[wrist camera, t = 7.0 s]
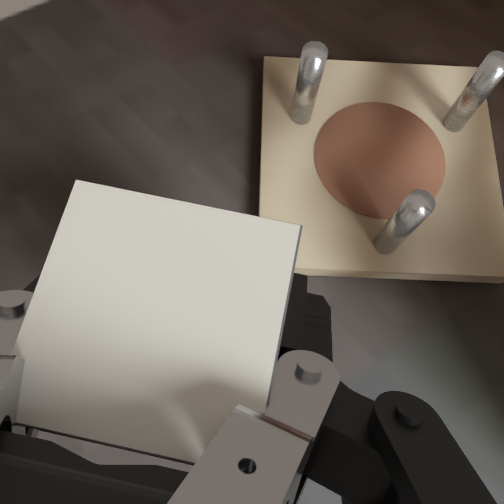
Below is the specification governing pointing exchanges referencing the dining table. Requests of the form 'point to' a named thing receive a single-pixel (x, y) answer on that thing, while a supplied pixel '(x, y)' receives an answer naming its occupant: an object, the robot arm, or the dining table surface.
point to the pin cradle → (383, 166)
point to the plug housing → (153, 321)
